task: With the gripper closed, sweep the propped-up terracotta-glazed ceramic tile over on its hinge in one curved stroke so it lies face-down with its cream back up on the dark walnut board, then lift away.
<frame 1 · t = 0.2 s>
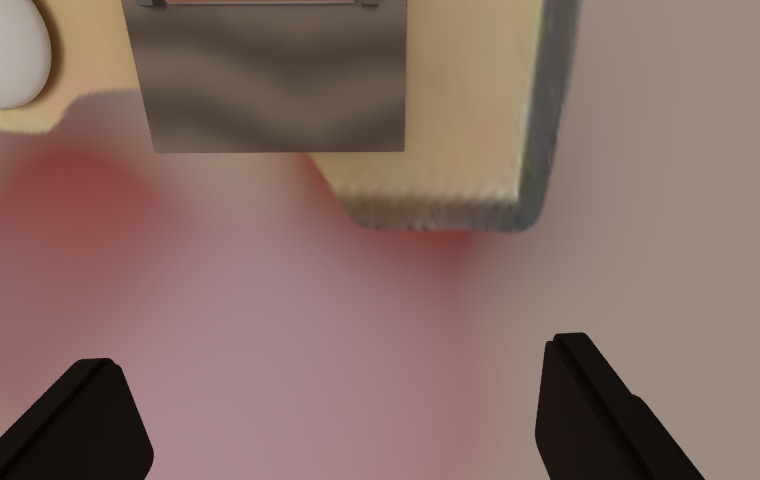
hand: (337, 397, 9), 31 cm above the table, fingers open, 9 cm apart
board: (271, 46, 34), on the table
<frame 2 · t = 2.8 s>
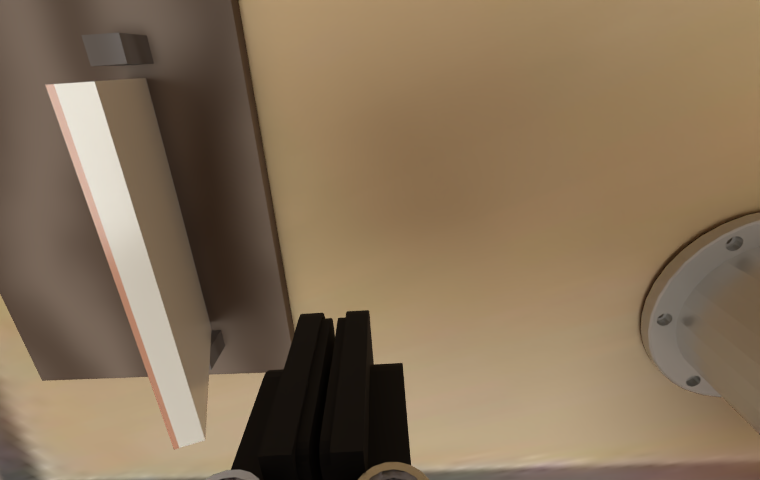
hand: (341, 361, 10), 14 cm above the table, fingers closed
tile: (160, 248, 19), point 6 cm above the table, hinge at 70.0°
board: (126, 212, 24), on the table
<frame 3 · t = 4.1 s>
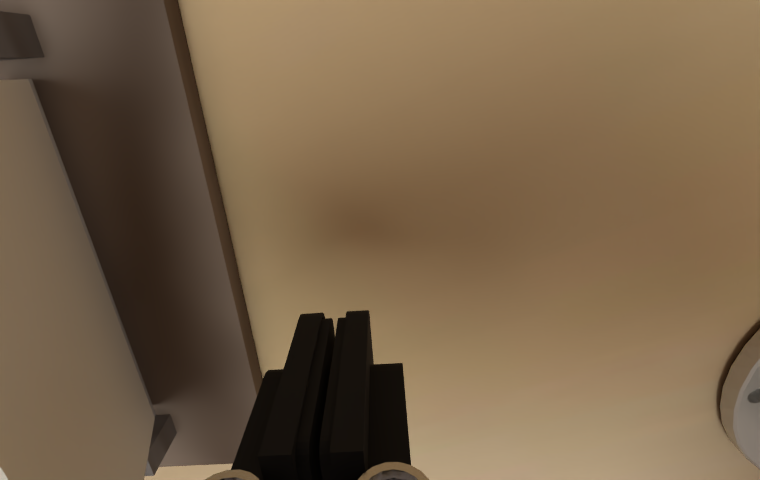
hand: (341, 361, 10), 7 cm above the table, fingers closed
tile: (47, 341, 12), point 6 cm above the table, hinge at 70.0°
board: (31, 263, 17), on the table
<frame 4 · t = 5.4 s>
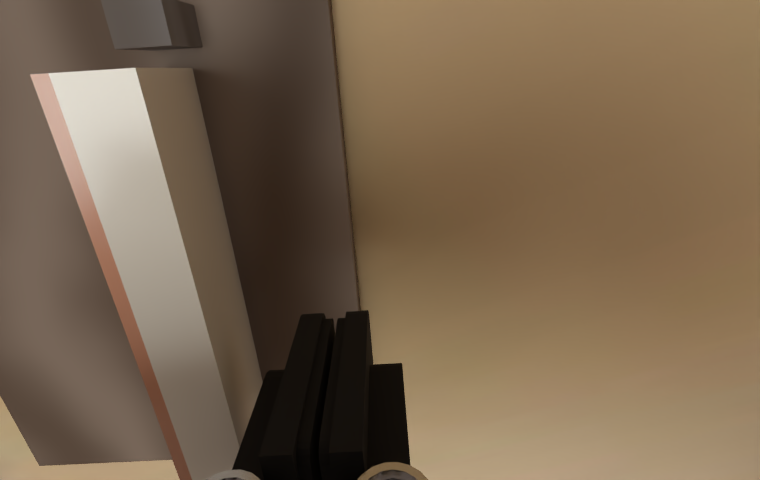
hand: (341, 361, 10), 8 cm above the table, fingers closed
tile: (216, 326, 12), point 6 cm above the table, hinge at 72.2°, touching gripper
board: (153, 253, 18), on the table
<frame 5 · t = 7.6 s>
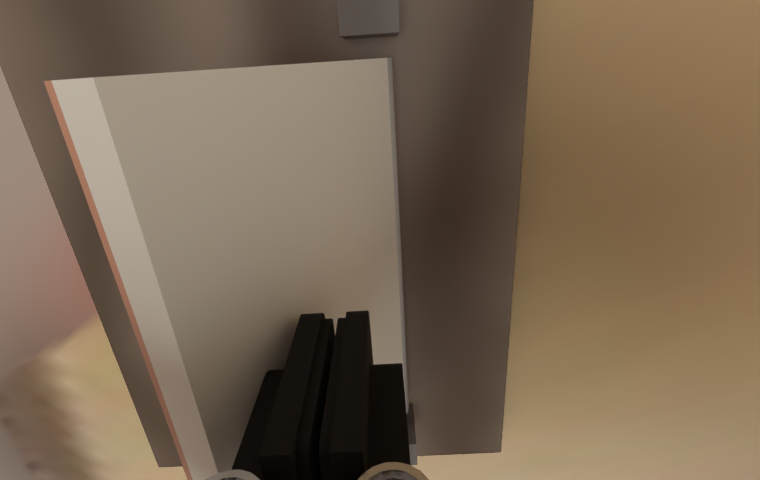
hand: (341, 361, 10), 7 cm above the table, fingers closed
tile: (323, 324, 12), point 5 cm above the table, hinge at 117.2°, touching gripper
board: (300, 249, 17), on the table
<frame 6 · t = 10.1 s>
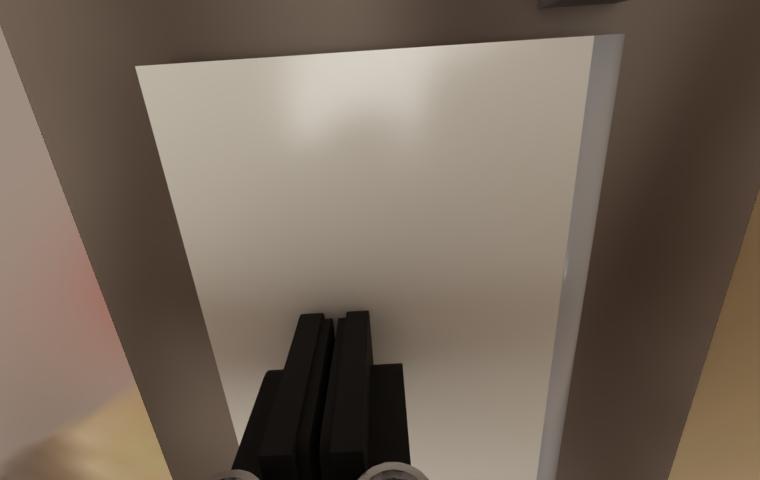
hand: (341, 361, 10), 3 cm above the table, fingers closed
tile: (398, 340, 11), point 2 cm above the table, hinge at 180.2°
board: (413, 302, 13), on the table
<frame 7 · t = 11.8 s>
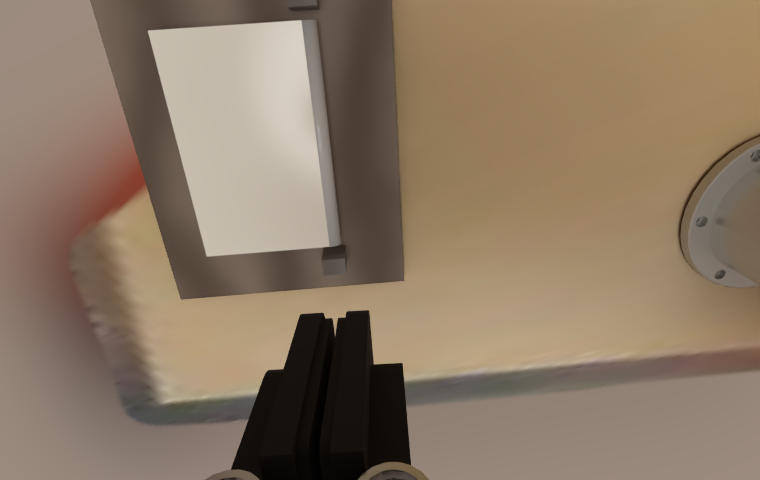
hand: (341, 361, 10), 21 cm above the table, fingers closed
tile: (257, 148, 27), point 2 cm above the table, hinge at 180.2°
board: (271, 142, 28), on the table
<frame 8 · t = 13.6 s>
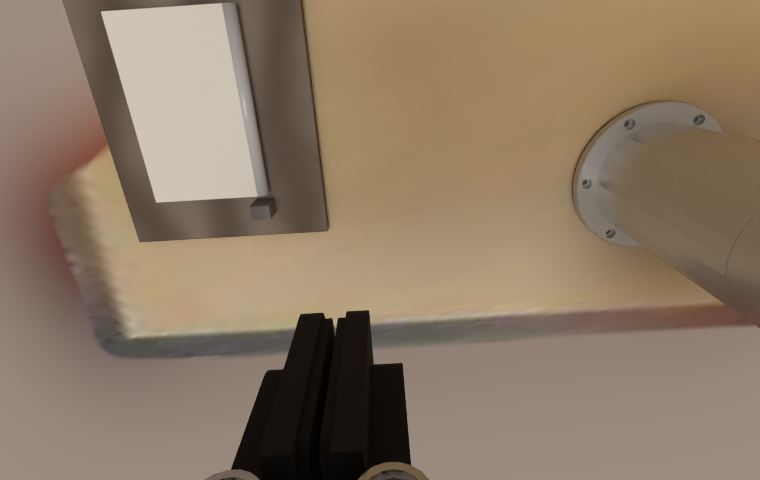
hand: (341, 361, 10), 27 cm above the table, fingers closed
tile: (194, 110, 32), point 2 cm above the table, hinge at 180.2°
board: (209, 107, 34), on the table
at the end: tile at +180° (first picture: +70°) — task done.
